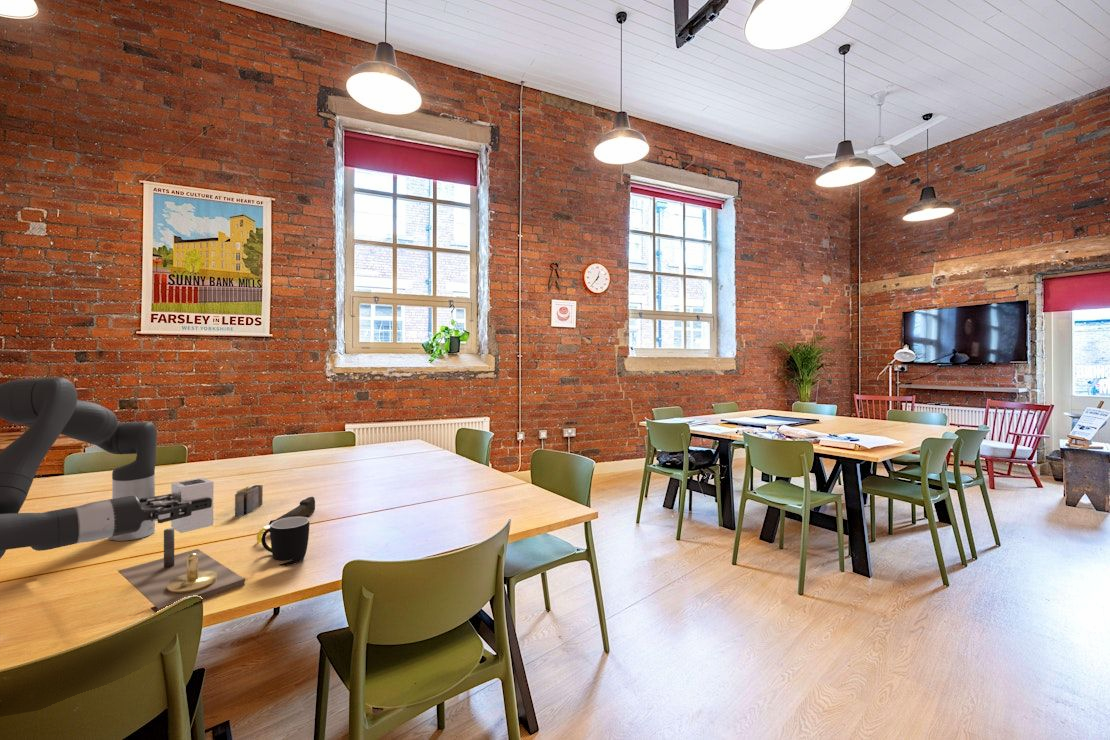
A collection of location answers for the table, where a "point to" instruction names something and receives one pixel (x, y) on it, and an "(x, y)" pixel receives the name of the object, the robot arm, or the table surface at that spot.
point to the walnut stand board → (160, 572)
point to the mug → (288, 539)
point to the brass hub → (191, 578)
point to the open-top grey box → (191, 492)
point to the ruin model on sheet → (248, 499)
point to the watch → (261, 532)
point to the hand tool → (300, 509)
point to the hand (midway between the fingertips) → (205, 499)
